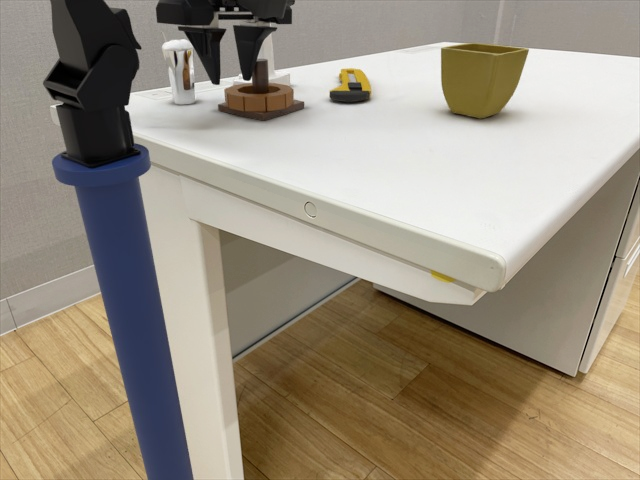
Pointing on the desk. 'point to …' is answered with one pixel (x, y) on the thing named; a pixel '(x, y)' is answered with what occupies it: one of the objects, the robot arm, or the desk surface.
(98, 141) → the robot arm
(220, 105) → the peg
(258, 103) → the brick ring
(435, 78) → the desk surface
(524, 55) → the flower pot
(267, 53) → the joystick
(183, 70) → the milkshake
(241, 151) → the desk surface
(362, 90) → the utility knife
